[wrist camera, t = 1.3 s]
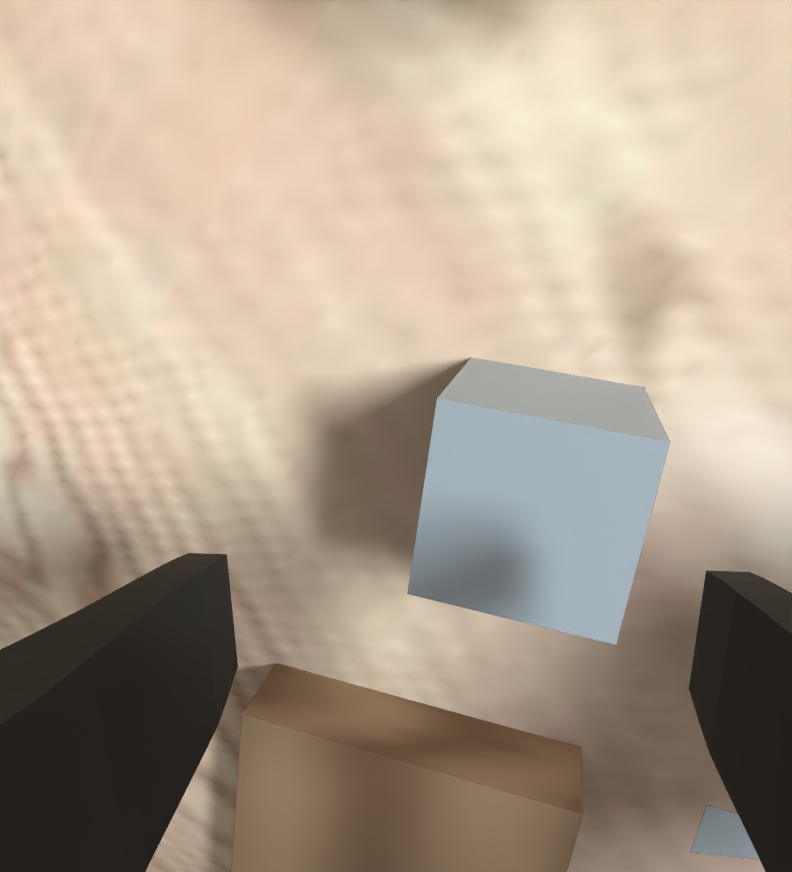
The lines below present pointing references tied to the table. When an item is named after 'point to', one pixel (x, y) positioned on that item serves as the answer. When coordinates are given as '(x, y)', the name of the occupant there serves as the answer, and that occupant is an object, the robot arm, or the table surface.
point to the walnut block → (395, 786)
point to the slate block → (538, 497)
